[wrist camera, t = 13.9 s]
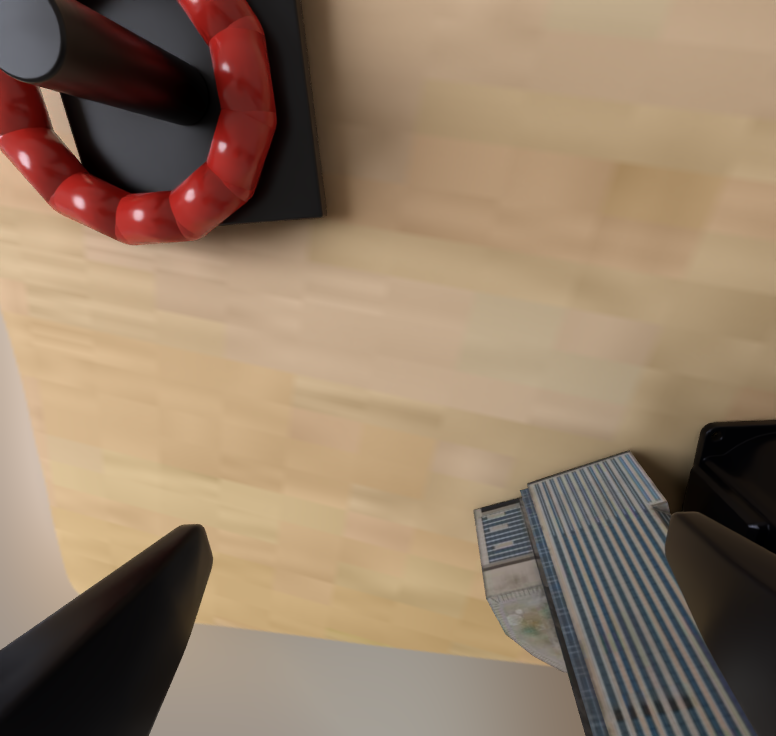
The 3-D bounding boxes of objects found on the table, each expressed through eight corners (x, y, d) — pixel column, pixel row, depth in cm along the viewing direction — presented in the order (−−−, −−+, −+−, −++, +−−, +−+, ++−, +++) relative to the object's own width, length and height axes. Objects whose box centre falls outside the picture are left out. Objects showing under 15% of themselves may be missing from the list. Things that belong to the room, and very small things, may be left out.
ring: (249, -110, 13) (227, -152, 12) (299, 230, 17) (287, 235, 15) (-51, -69, 14) (-113, -103, 12) (59, 249, 18) (23, 255, 16)
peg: (292, -72, 14) (165, -347, 7) (327, 216, 18) (266, 235, 10) (38, -38, 15) (-320, -255, 8) (117, 232, 18) (-79, 261, 11)
